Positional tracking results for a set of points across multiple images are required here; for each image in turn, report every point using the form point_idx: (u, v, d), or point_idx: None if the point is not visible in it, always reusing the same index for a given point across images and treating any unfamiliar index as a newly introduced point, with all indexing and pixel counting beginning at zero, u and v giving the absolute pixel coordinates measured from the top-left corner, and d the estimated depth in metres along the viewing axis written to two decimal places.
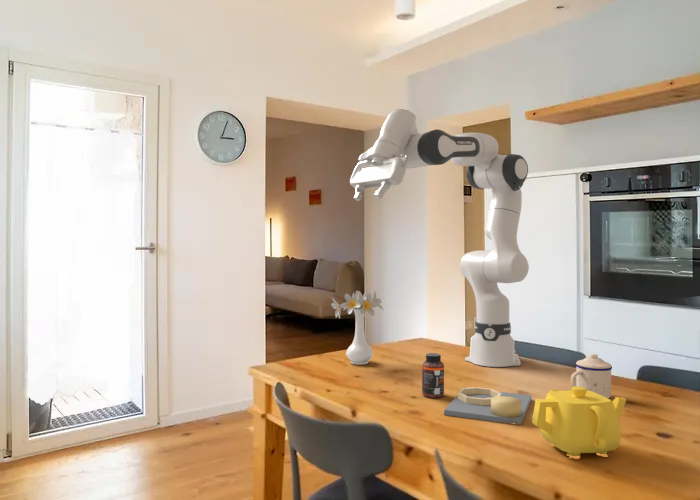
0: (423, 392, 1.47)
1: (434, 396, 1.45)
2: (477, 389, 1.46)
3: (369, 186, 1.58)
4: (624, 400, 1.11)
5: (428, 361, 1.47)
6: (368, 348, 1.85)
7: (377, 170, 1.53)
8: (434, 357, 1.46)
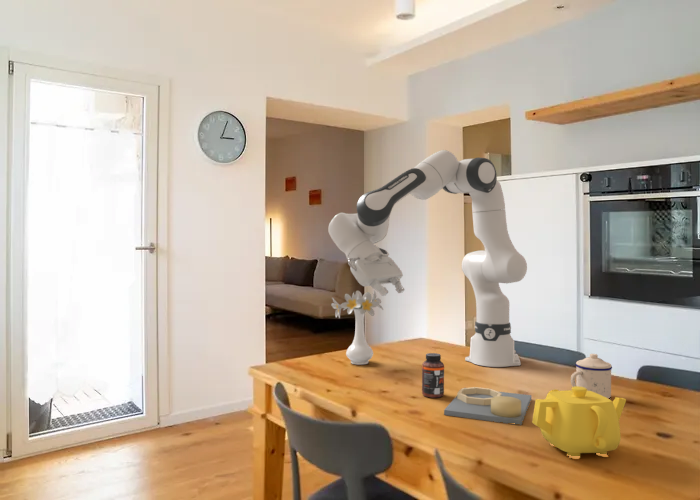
0: (423, 392, 1.47)
1: (434, 396, 1.45)
2: (477, 389, 1.46)
3: None
4: (624, 400, 1.11)
5: (428, 361, 1.47)
6: (368, 348, 1.85)
7: None
8: (434, 357, 1.46)
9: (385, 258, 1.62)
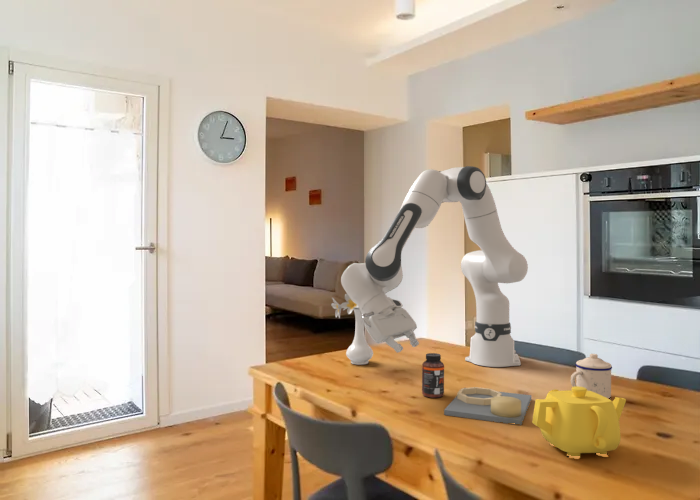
0: (423, 392, 1.47)
1: (434, 396, 1.45)
2: (477, 389, 1.46)
3: None
4: (624, 400, 1.11)
5: (428, 361, 1.47)
6: (368, 348, 1.85)
7: None
8: (434, 357, 1.46)
9: (399, 310, 1.60)
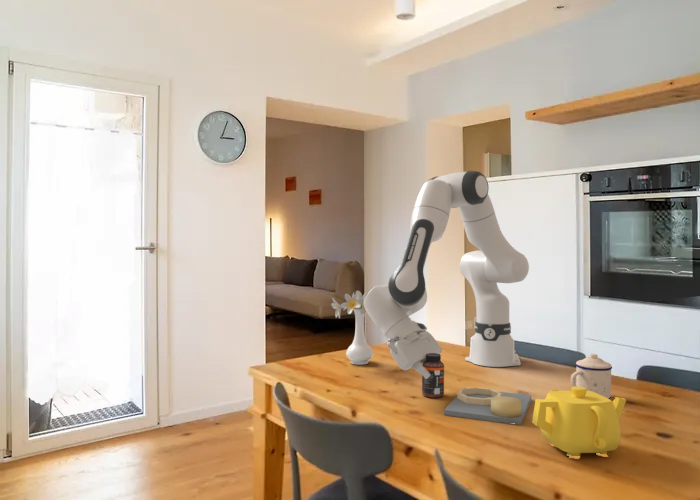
0: (423, 392, 1.47)
1: (434, 396, 1.45)
2: (477, 389, 1.46)
3: None
4: (624, 400, 1.11)
5: (428, 361, 1.47)
6: (368, 348, 1.85)
7: None
8: (434, 357, 1.46)
9: (424, 334, 1.55)
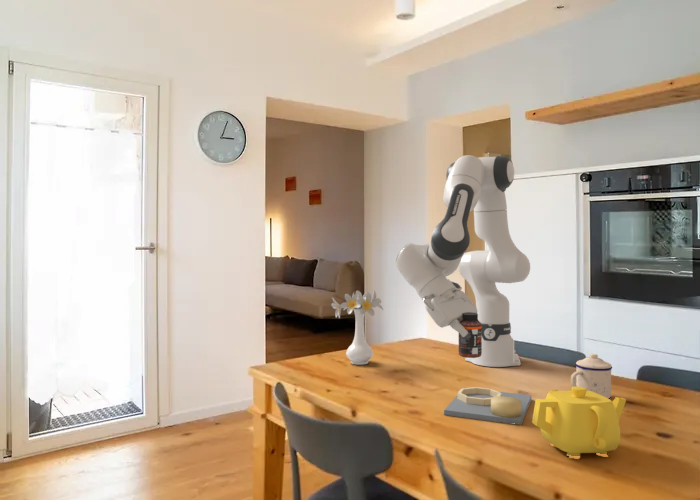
0: (460, 352, 1.41)
1: (472, 356, 1.39)
2: (477, 389, 1.46)
3: None
4: (624, 400, 1.11)
5: (465, 320, 1.41)
6: (368, 348, 1.85)
7: None
8: (471, 316, 1.40)
9: (459, 293, 1.49)
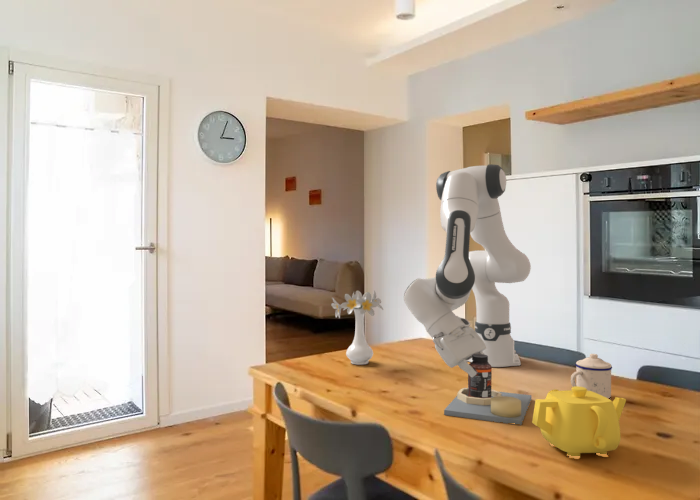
0: (470, 395, 1.40)
1: None
2: None
3: None
4: (624, 400, 1.11)
5: (475, 362, 1.40)
6: (368, 348, 1.85)
7: None
8: (481, 358, 1.39)
9: (467, 329, 1.48)
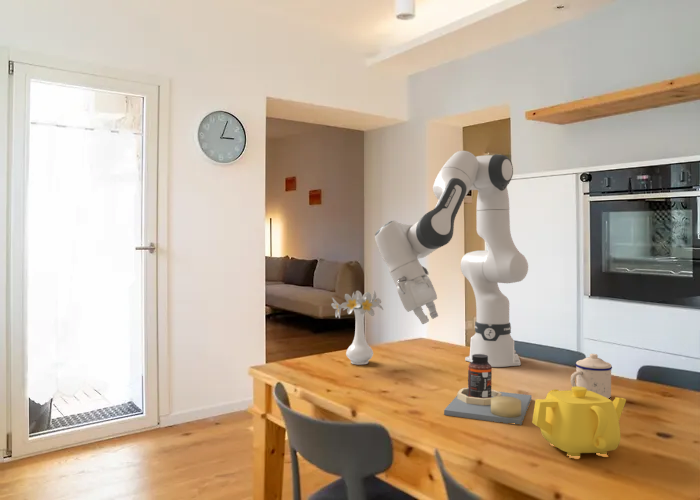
0: (470, 395, 1.40)
1: None
2: None
3: None
4: (624, 400, 1.11)
5: (475, 362, 1.40)
6: (368, 348, 1.85)
7: None
8: (481, 358, 1.39)
9: (426, 279, 1.56)
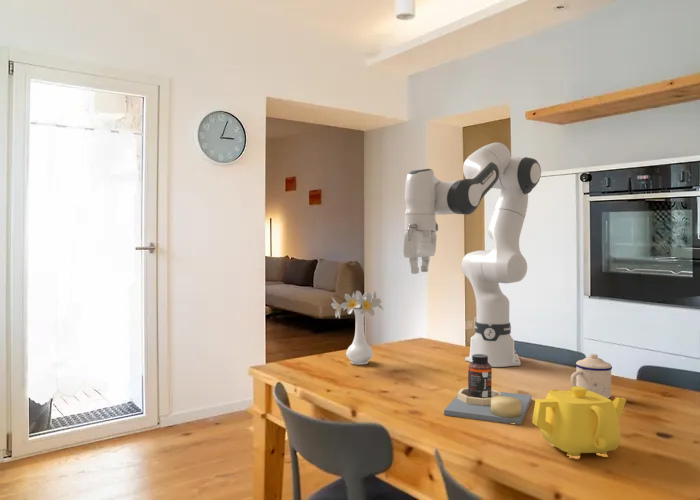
0: (470, 395, 1.40)
1: None
2: None
3: None
4: (624, 400, 1.11)
5: (475, 362, 1.40)
6: (368, 348, 1.85)
7: None
8: (481, 358, 1.39)
9: (433, 234, 1.60)
